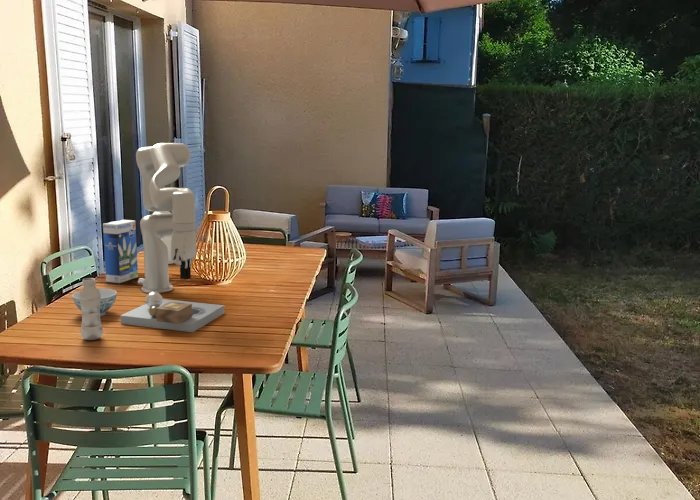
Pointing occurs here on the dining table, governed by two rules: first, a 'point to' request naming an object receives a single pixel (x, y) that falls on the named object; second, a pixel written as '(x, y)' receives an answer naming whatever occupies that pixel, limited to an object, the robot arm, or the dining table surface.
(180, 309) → the walnut cover
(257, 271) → the dining table surface
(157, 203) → the robot arm
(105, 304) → the chinaware
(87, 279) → the plastic bottle
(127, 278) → the string lights box
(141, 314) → the hole board
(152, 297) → the steel boule
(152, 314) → the bronze ball
